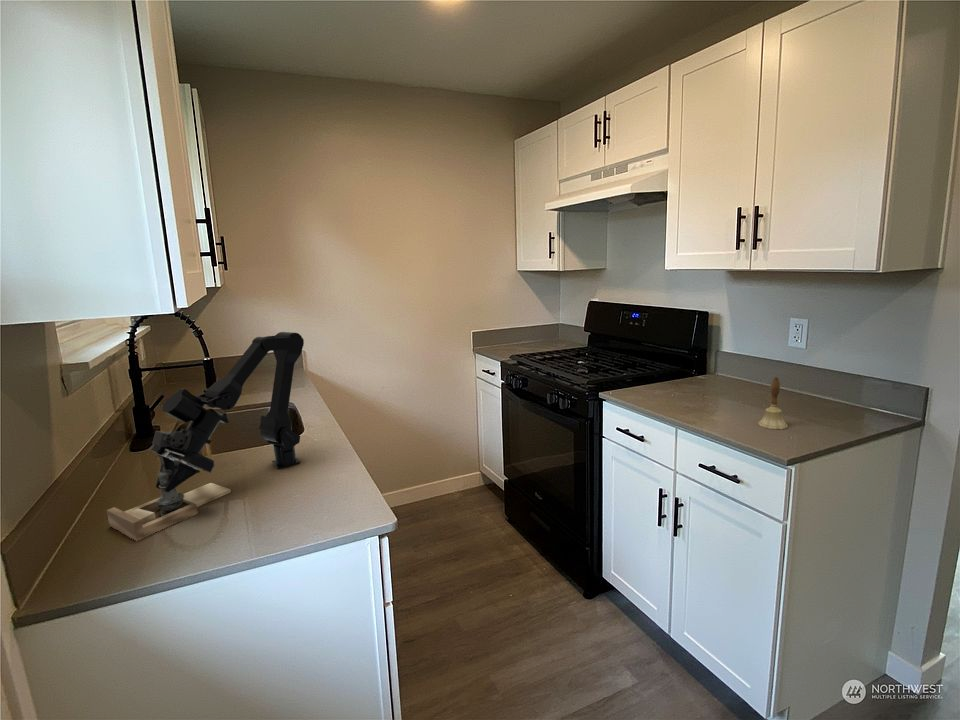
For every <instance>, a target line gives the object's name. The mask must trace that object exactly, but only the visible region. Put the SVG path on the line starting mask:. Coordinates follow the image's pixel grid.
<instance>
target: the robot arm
mask: <svg viewBox="0 0 960 720" xmlns="http://www.w3.org/2000/svg"><path fill="white" fill-rule="evenodd" d="M304 341H305V340H304V338H303V337H302V335H301V334H300V333H298V332H292V331H291V332H289V331H280V332H277V333H276V334H275V335H268V336H256V337H254V338H253V339H252V341H251V344H250V345H249V346H248V348H247V349H246V350H245V352H244V353H243V354H242V355H241V356H240V357H239V359H238V360H237V361H236V363H235V364H234V365H233V367H232V368H231V369H230V370H229V371H228V373H227V374H225V376H223V377H222V378H221V377H220V379H218V380H216V381H215V382H214V383H212V385H210V386H209V387H208V388H207V389H206V391H205V392H203V393H201V394H198V395H196V396H195V395H194V394H192V393H191V392H190V391H188V390H187V389H185V388H179V389H178V391H176V392H174V393H172V394H171V395H170V396H169V398H166V399H165V401H164V402H163V405H162V411H163V413H165V414H167V415H169V416H170V417H172V418H174V419H177V420H178V421H179V422H182V423H183V424H185V423H186V424H187V423H189V422H190V423H189V424H188V425H187V427H186V428H181V429H179V431H176V430H171V432H170V431H163V430H162V431H161V430H155V431H154V436H153V440H152V443H151V444H152V445H153V447H152V448H151V449H150V451H151V452H153V453H156V454H157V457H158V458H159V461H160V464H161V465H160V468H159V472H160V471H162V470H163V469H162V468H163V467H165V469H168V470H171V471H172V475H171V477H170V479H169V481H168V483H167V485H166V487H165V489H164V491H166V492H170V491H171V490H172V489H174V488H175V489H176V488H177V487H178V486H180V485H181V484H182V483H184V482H185V481H187V480H189V479H190V478H191V477H193V476H195V475H196V474H199V473H200V472H201V470H199V469H202V471H204V472H206V473H210V474H211V473H212V472H213V470H214V468H215V466H216V465H215V461H214V460H213V459H211V458H209V457H207V456H205V455H204V454H201V452H202V451H203V449H204V447H205V446H206V445H209V446H210V445H211V443H212V440H211V439H210V438H211V437H212V435H213V433H214V432H215V430H216V428H217V427H218V425H219V423H222V424H227V425H228V424H229V422H230V421H229V418H228V416H227V415H228V414H227V412H222V411H221V412H218V411H217V410H223V411H227V410H231V409H233V408H234V407H235V406H236V405H237V403H238V401H239V399H240V397H241V396H242V391H243V387H244V385H245V383H246V382H247V380H248V379H249V377H251V376H252V374H253V373H254V371H255V370H256V369H257V368H258V366H259V365H260V364H261V362H262V361H263V360H264V358H265V357H266V355H267V354H268V353H269V352H271V351H272V352H273V355H274V358H275V360H276V364H275V371H274V372H275V373H274V379H273V385H272V386H273V387H272V392H271V393H272V394H271V400H270V401H271V402H270V407H269V411H268V412H267V413H266V415H261V416H260V425H259V427H258V430H259V431H260V436H261V437H262V439H264V440H266V442H267V444H269V445H273V452H274V454H273V455H274V460H272V461H271V463H272V464H273V466H275V467H276V468H277V469H283V468H286V467H291V466H294V465H297V464H301V460H300V459H298V458H297V457H296V447H295V446H296V445H298V444H300V440H301V435H299V434H298V433H296V432H294V431H293V428H292V420H291V417H290V415H289V406H290V398H291V391H292V383H293V377H294V371H295V370H294V369H295V364H296V362H297V360H299V358H300V356H301V355H302V351H303V348H304V343H305V342H304ZM204 407H208V408H207V409H206V408H204ZM213 408H214V409H213ZM216 409H217V410H216ZM157 476H158V475H157ZM159 485H160V481H159V476H158V477H157V480H156V484H155V488H156V489H159V490H161V488H159Z"/></svg>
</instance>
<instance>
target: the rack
mask: <svg viewBox="0 0 960 720" xmlns="http://www.w3.org/2000/svg"><path fill="white" fill-rule="evenodd" d="M160 498H161V496H159V497H157V498H155V499H152V500H150V501H147V502H145V503H143V504H140V505H137V506H134V507H133V508H130V509H127V510H125V511H124V510H121V509H119V508H117V507H114V506H113V507H111V508H109V509H106V514H107V519H108V524H109V527H110V526H111V527H113V528H115V529H117V530H119V531H120V532H122V533H123V534H125V535H127V536H129V537H130V538H129V537H128V538H129V539H131V538H132V539H131V540H133V539H134V540H133V541H135V540H136V541H135V542H139V541H141V540H143V539H145V537H146V538H148V537H150V536H152V535H154V534H156V533H155V532H157V531H159V532H161V531H163V530H165V529H167V528H166V527H168V528H170V527H172V526H174V525H176V524H179V523H181V522H182V520H183V521H185V520H188V519H189V517H190V518H192V517H194V516H197V515H198V514H199V511H198V507H197V505H196V504H194V503H192V504H187V505H185V506H182V507H183V508H180V509H178V510H176V511H173V512H171V513H169V514H166V515H164V516H162V517H160V516H159V517H158V518H157V517H156V519H155V520H153V521H150V522H148V523H146V524H143V525H142V522H141V520H140V519H138V518H136V517H134V516H132V515H130V514H128V513H129V512H131V511H133V510H136V509H142V510H146V511H150V512H154V511H155V512H157V511H156V510H158V511H160V510H161V509H160V508H159V507H158V505H157V504H156V501H157V500H158V499H160ZM159 509H160V510H159ZM155 512H154V513H155ZM178 522H179V523H178ZM173 524H174V525H173ZM171 525H172V526H171ZM169 526H170V527H169ZM164 528H165V529H164ZM162 529H163V530H162ZM160 530H161V531H160ZM120 532H119V533H120ZM122 533H121V534H122ZM153 533H154V534H153ZM157 533H158V532H157ZM123 534H122V535H123ZM151 534H152V535H151ZM125 535H124V536H125ZM149 535H150V536H149ZM127 536H126V537H127ZM147 536H148V537H147ZM138 540H139V541H138Z"/></svg>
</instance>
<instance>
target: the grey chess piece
mask: <svg viewBox="0 0 960 720" xmlns="http://www.w3.org/2000/svg"><path fill="white" fill-rule="evenodd" d="M162 469H163V470H162V471H160V470H159V472H158V475H157V476H159V481H160V485H159V488H160V492H161V496H160V497H161V498H160V499H158V500H157V501H156V504H157V505H158V507H159V508H160V510H161V513H160V515H159V517H160V516H161V517H162V516H164V515H166V514H169V513H171V512H173V511H176V510H178V509H180V508H183V507H184V506H181V505H183V503H184V502H183V498H184V495H183V494H184V493H181V492H180V493H179V492H178V491H177V490H176V487H175V488H174V489H172V490H171V491H170V492H166V491H164V489H165V487H166V485H167V483H168V481H169V479H170V477H171V475H172V471H171V470H168V469H165V467H163V468H162ZM159 488H158V489H159Z"/></svg>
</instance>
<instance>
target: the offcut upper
mask: <svg viewBox="0 0 960 720" xmlns="http://www.w3.org/2000/svg"><path fill="white" fill-rule="evenodd" d="M128 514H130V515H132V516H134V517H136V518H138V519H140V520H141V522H142V525H143V524H146V523H148V522H150V521H153V520H155V519H157V517H156V512H150V511H146V510H142V509H136V510H133V511H131V512H129V513H128Z"/></svg>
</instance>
